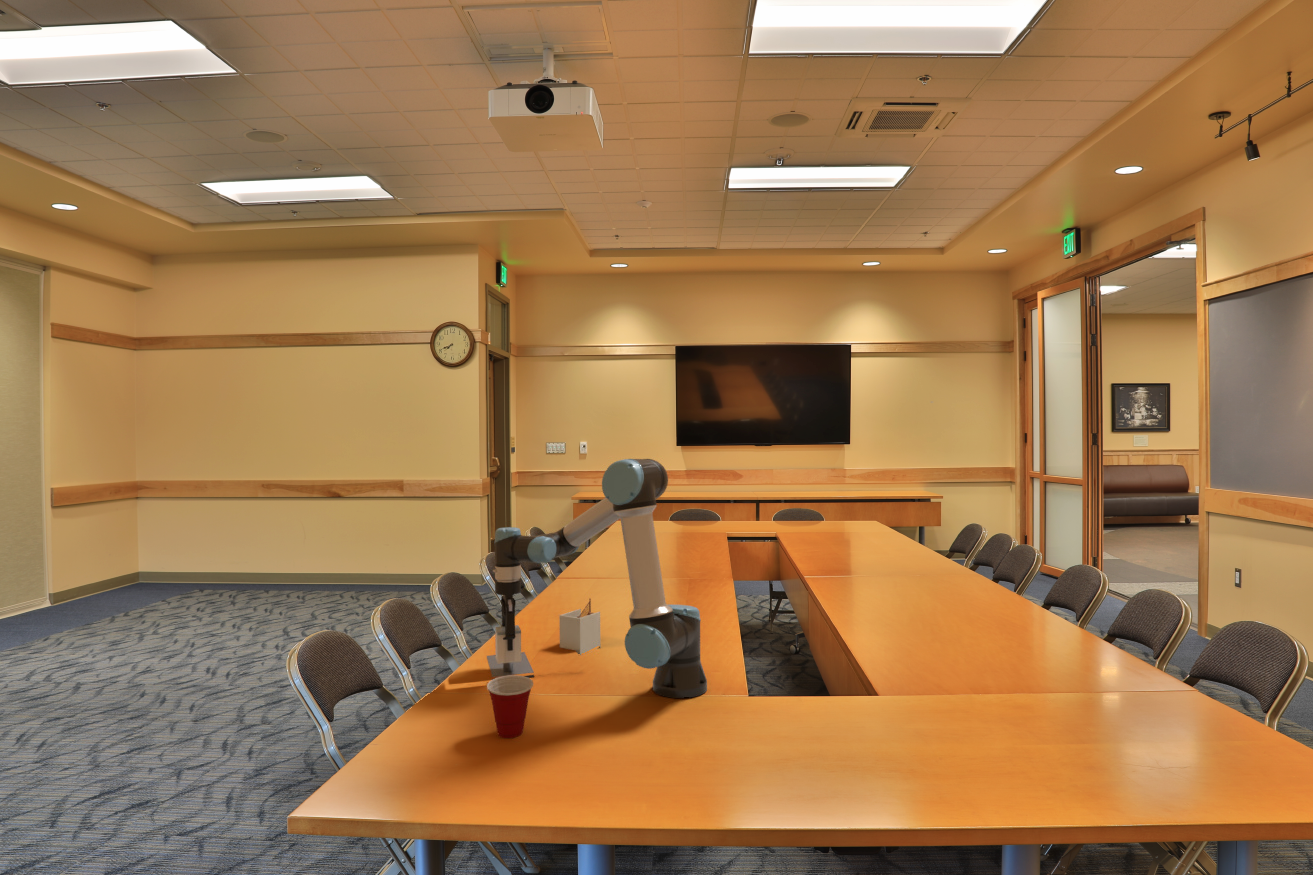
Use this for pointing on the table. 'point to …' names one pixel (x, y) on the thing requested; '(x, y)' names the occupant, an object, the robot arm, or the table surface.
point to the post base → (517, 667)
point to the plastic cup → (510, 703)
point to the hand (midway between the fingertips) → (508, 657)
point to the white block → (501, 644)
